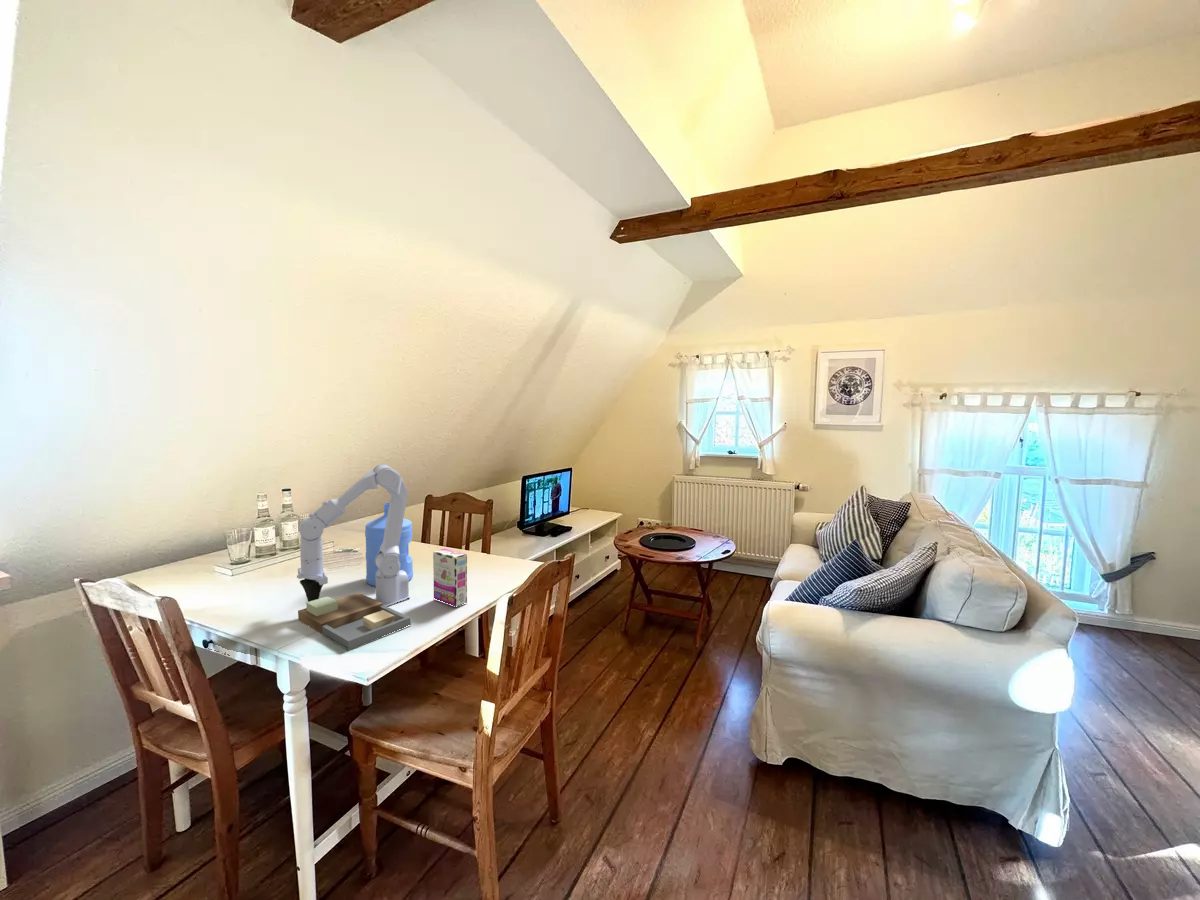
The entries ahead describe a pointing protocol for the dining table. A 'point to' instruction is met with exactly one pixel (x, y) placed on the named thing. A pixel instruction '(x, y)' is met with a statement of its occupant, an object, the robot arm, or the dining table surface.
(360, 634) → the tray
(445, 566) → the candy bar box
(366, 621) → the ash block
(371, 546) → the water jug
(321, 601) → the sage tile
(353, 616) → the walnut board
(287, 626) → the dining table surface
